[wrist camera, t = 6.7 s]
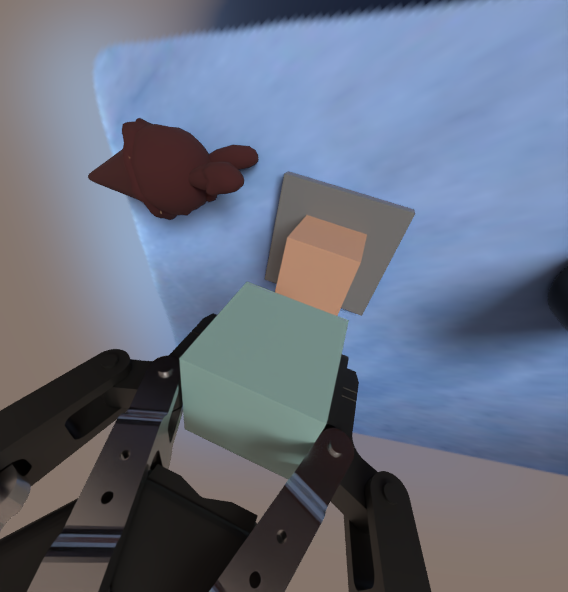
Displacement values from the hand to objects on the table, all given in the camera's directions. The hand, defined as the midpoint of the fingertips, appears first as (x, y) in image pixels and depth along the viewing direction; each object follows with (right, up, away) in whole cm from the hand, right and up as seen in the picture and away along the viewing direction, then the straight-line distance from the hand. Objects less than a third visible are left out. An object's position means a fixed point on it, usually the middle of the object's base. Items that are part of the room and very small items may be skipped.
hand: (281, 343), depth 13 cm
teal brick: (0, 0, 0) cm, 0 cm away
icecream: (-8, +14, +10) cm, 19 cm away
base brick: (+4, +6, +9) cm, 12 cm away
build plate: (+4, +7, +10) cm, 13 cm away
